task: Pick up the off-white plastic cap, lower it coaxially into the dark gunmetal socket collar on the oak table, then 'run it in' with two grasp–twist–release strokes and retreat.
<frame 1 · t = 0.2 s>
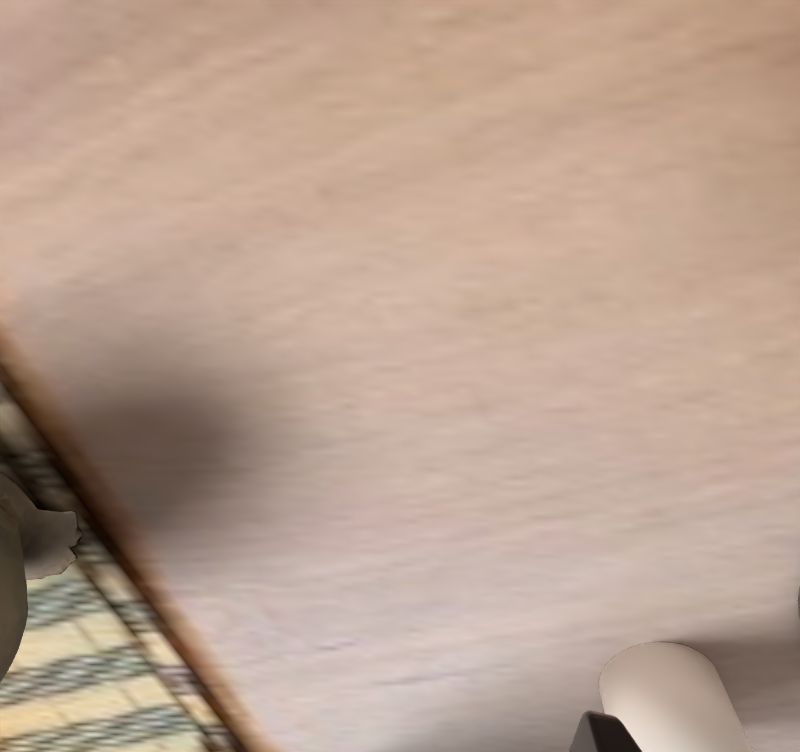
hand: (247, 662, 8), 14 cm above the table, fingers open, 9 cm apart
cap: (658, 685, 26), on the table
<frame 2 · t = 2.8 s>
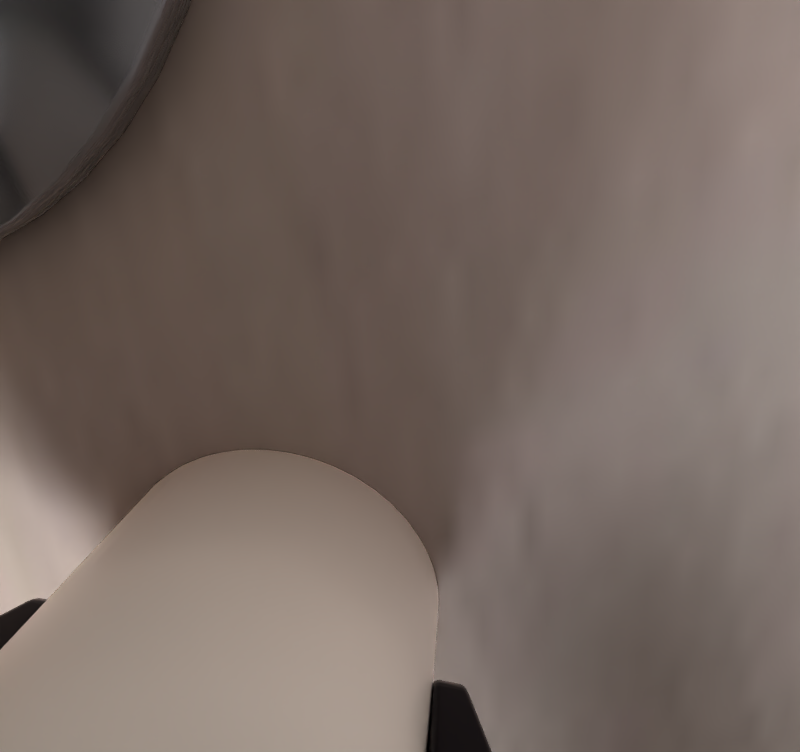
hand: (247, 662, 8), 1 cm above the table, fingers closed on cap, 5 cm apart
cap: (278, 591, 9), on the table, touching gripper
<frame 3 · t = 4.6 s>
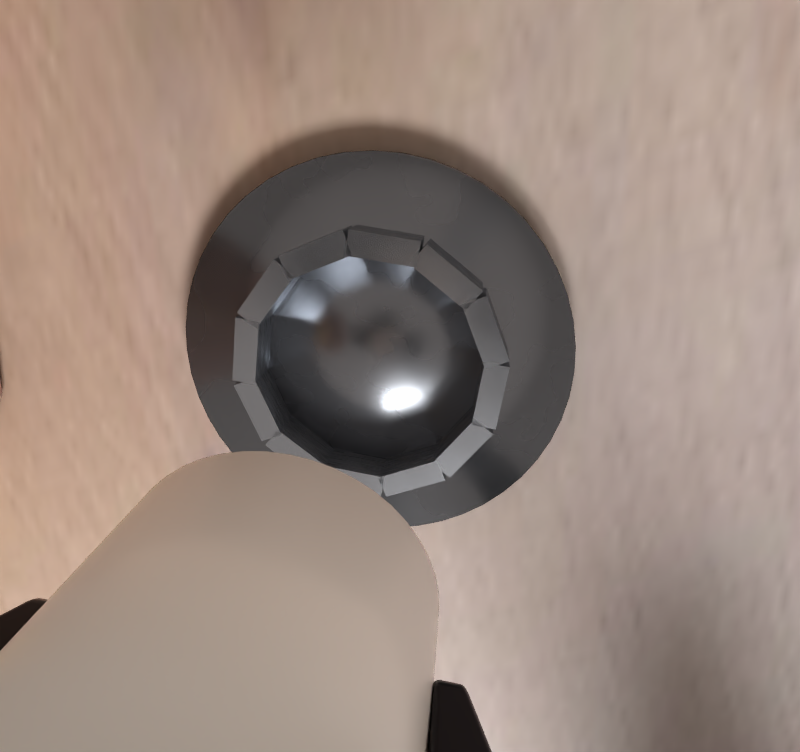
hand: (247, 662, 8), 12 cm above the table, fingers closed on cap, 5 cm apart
collar: (376, 354, 19), on the table
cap: (277, 593, 9), point 10 cm above the table, touching gripper
when the fingers open (3 cm above the table, at t = 6.5 s): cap drops 1 cm, resting on collar.
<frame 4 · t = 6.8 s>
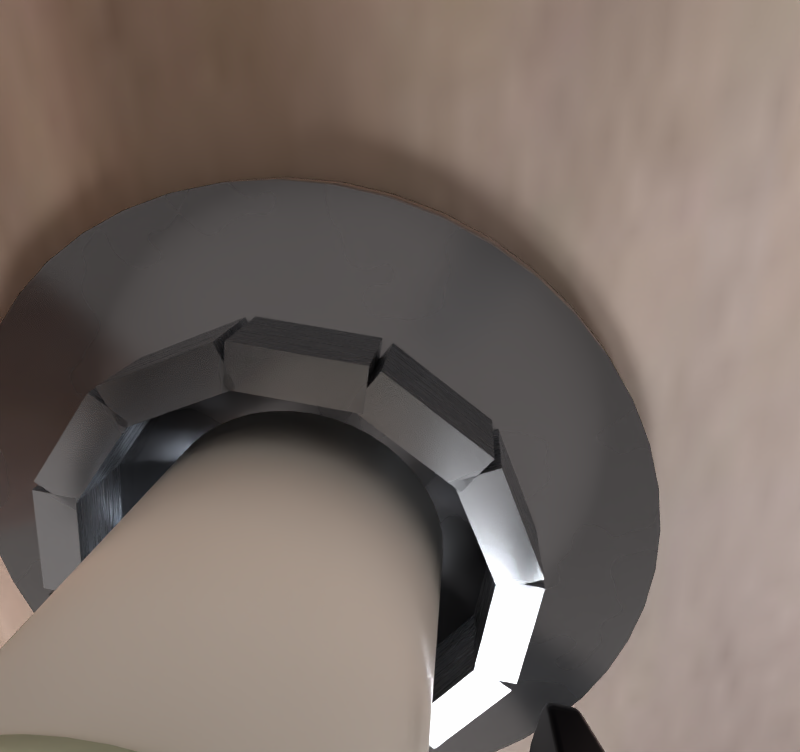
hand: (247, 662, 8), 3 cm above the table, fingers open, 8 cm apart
collar: (308, 520, 11), on the table
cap: (300, 540, 10), point 1 cm above the table, touching collar
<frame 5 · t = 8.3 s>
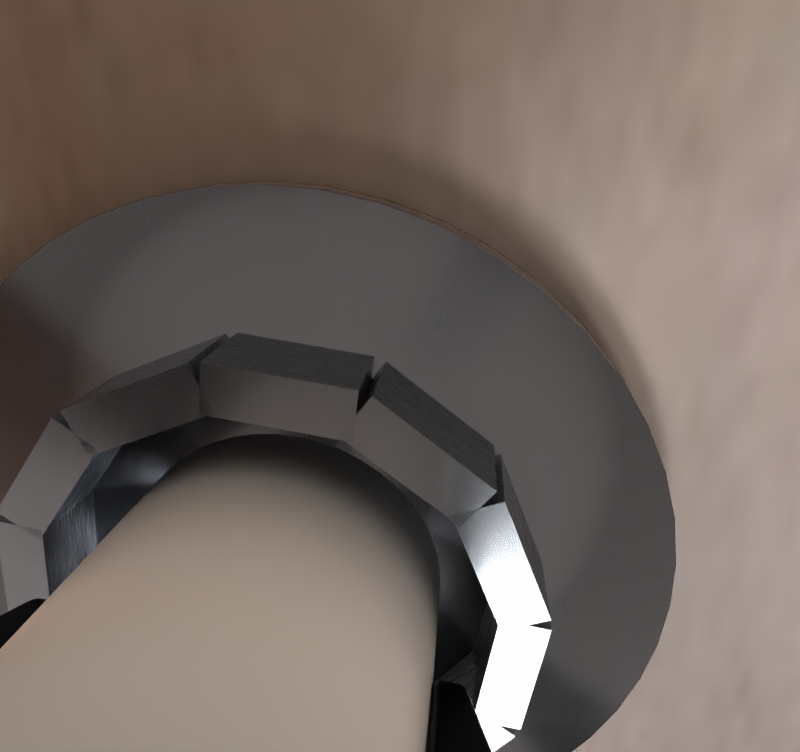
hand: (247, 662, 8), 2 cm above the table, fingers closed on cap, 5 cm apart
collar: (296, 547, 10), on the table
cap: (286, 571, 10), point 1 cm above the table, touching collar, gripper
when the fingers open (2 cm above the table, at t = 9.5 s): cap stays where it is, resting on collar.
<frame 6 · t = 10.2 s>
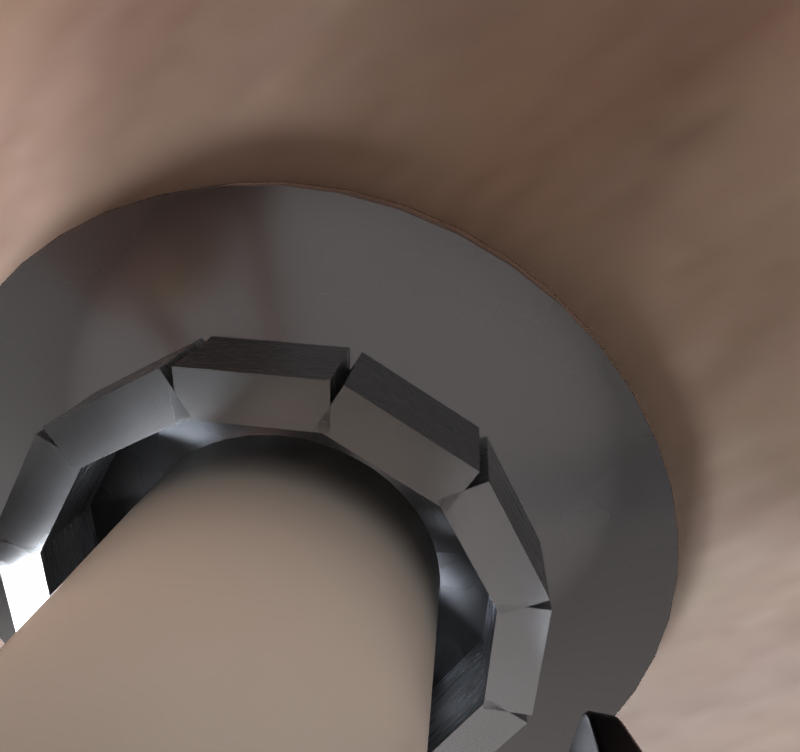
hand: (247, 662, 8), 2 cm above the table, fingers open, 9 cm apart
collar: (297, 548, 10), on the table
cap: (286, 572, 10), point 1 cm above the table, touching collar
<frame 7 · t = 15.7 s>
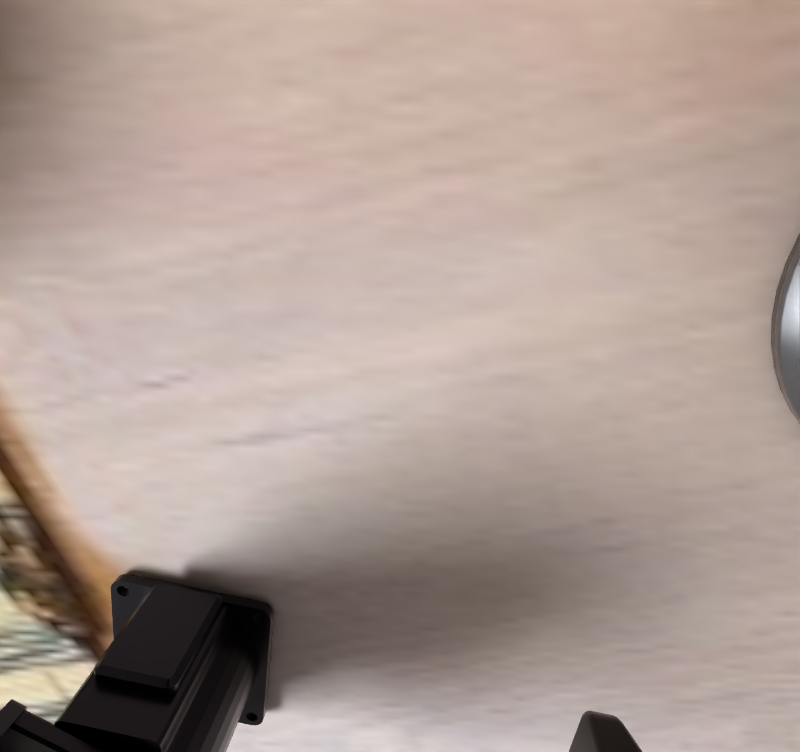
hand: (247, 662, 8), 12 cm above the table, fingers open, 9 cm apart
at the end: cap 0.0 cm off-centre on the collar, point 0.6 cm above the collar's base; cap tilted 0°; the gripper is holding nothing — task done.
